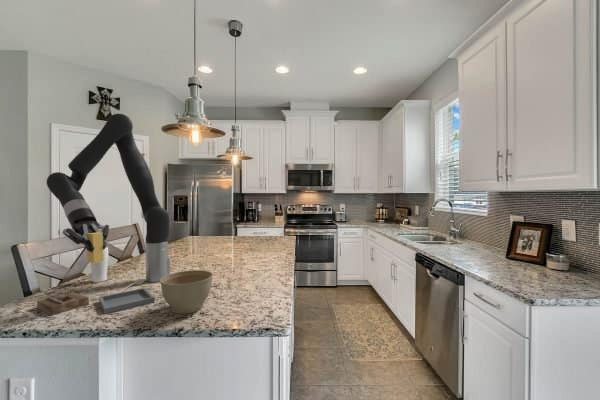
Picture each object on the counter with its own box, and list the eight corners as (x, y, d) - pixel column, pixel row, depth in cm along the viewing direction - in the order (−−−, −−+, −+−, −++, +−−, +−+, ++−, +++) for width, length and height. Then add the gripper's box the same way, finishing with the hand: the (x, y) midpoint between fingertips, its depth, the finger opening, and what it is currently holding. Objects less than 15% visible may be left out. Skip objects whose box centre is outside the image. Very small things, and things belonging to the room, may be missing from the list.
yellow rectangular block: (96, 259, 99) (95, 232, 99) (103, 261, 97) (102, 233, 97) (87, 261, 97) (86, 233, 97) (93, 263, 95) (92, 234, 94)
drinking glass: (99, 283, 121) (98, 249, 121) (86, 282, 122) (85, 249, 122) (112, 279, 127) (112, 246, 127) (100, 278, 129) (99, 246, 129)
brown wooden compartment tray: (72, 298, 102) (72, 289, 102) (88, 304, 97) (88, 294, 97) (37, 308, 94) (36, 298, 94) (53, 314, 88) (52, 304, 88)
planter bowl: (156, 307, 94) (155, 275, 93) (203, 296, 103) (203, 267, 103) (166, 324, 81) (166, 287, 81) (220, 310, 91) (219, 277, 90)
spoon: (147, 282, 123) (147, 278, 123) (112, 299, 103) (112, 294, 103) (138, 282, 123) (138, 278, 123) (102, 299, 103) (102, 294, 103)
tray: (144, 292, 109) (144, 287, 109) (154, 302, 98) (154, 297, 98) (99, 301, 99) (99, 296, 99) (104, 314, 88) (104, 308, 88)
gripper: (58, 208, 94) (77, 246, 88) (104, 206, 106) (123, 239, 101) (52, 223, 97) (70, 260, 91) (97, 219, 109) (115, 252, 103)
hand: (98, 249), depth 96 cm, fingers closed on yellow rectangular block, 3 cm apart
